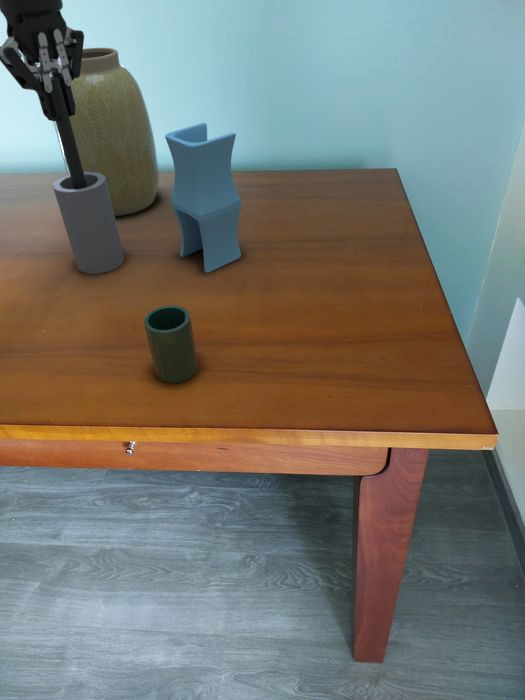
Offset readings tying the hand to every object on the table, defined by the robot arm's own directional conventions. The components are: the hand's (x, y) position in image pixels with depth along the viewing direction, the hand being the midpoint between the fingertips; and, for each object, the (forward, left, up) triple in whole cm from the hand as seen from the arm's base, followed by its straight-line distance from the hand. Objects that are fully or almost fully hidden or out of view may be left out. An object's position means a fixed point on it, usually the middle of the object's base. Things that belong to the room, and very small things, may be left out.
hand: (61, 117), depth 74 cm
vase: (+20, +13, -24) cm, 34 cm away
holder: (-16, -28, -23) cm, 40 cm away
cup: (0, 0, -23) cm, 23 cm away
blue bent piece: (+10, -16, -24) cm, 30 cm away
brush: (0, 0, -18) cm, 18 cm away
